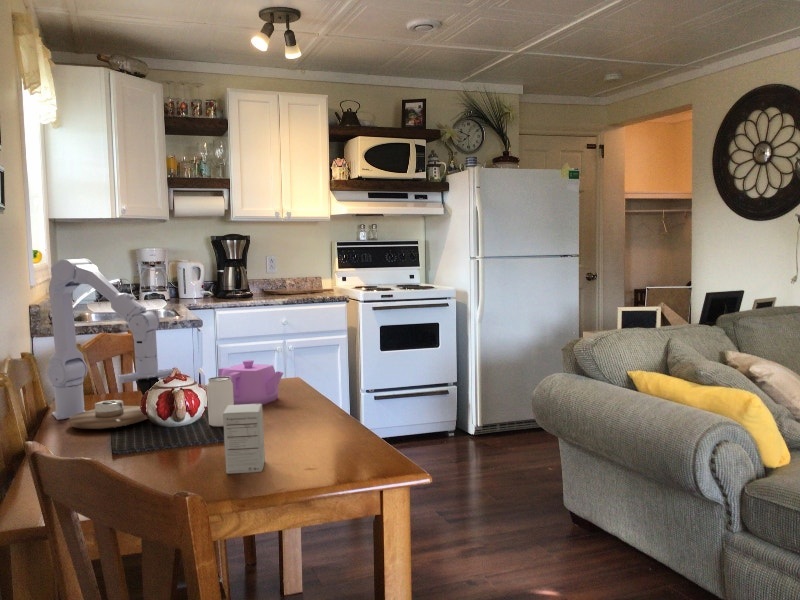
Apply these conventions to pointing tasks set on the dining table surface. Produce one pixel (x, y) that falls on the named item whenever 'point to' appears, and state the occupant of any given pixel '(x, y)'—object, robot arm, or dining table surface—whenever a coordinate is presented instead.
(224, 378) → the can
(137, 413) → the turntable
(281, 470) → the dining table surface
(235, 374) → the teakettle
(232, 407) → the supplement box
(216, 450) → the dining table surface
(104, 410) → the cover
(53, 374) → the robot arm
